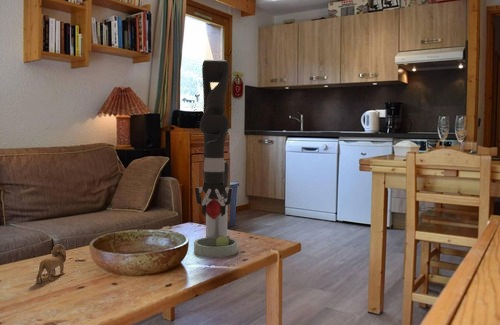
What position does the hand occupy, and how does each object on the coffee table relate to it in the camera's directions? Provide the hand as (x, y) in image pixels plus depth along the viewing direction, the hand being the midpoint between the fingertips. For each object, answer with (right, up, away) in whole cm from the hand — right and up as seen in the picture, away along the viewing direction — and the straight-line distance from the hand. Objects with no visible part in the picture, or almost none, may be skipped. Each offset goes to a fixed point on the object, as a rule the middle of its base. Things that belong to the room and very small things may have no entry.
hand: (213, 215), depth 160 cm
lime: (+3, -14, +6) cm, 15 cm away
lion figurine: (-48, -16, -26) cm, 57 cm away
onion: (0, -2, 0) cm, 2 cm away
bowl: (+1, -15, +3) cm, 15 cm away
